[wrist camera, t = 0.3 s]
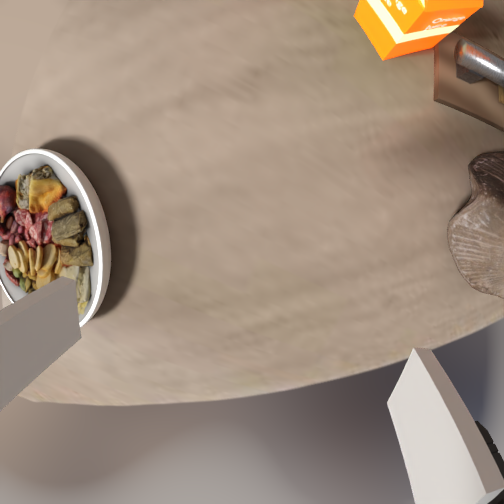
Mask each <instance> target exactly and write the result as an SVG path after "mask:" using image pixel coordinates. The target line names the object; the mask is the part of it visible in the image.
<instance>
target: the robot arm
mask: <svg viewBox="0 0 504 504" xmlns="http://www.w3.org/2000/svg"><path fill="white" fill-rule="evenodd" d="M80 339H81V331H80V323H79V315H78V306H77V295H76V282H75V280H73V279H70V278H67V277H64V276H61V277H60V278H58V279H56V280H54V281H52V282H50V283H48V284H46V285H45V286H43V287H41V288H39V289H37V290H35V291H34V292H32V293H30V294H28V295H26V296H25V297H23V298H21V299H19V300H18V301H16V302H14V303H12V304H11V305H9V306H7V307H5V308H4V309H2V310H0V411H1V410H2V409H3V408H4V407H5V406H6V405H7V404H8V403H9V402H11V401H12V400H13V399H14V398H15V397H16V396H17V395H18V394H19V393H20V392H21V391H22V390H23V389H24V388H26V387H27V386H28V385H29V384H30V383H31V382H32V381H33V380H34V379H35V378H37V377H38V376H39V375H40V374H41V373H42V372H43V371H44V370H45V369H47V368H48V367H49V366H50V365H51V364H52V363H53V362H54V361H55V360H57V359H58V358H59V357H60V356H61V355H62V354H63V353H65V352H66V351H67V350H68V349H69V348H70V347H71V346H73V345H74V344H75V343H76V342H77V341H78V340H80ZM387 404H388V408H389V411H390V414H391V417H392V420H393V423H394V427H395V430H396V433H397V437H398V440H399V443H400V447H401V450H402V454H403V457H404V461H405V465H406V468H407V472H408V476H409V480H410V484H411V488H412V492H413V496H414V500H415V504H504V461H503V459H502V457H501V455H500V453H498V449H497V447H496V445H495V444H493V440H492V438H491V436H490V434H489V433H488V431H487V430H486V429H485V428H484V427H483V426H482V425H481V424H480V423H479V422H478V421H474V420H473V418H472V416H471V415H470V413H469V411H468V409H467V408H466V406H465V404H464V403H463V401H462V399H461V397H460V396H459V394H458V392H457V391H456V389H455V387H454V386H453V384H452V382H451V381H450V379H449V378H448V376H447V374H446V373H445V371H444V370H443V368H442V367H441V365H440V363H439V362H438V360H437V359H436V357H435V356H434V354H433V353H432V351H431V350H430V349H425V348H413V350H412V352H411V354H410V357H409V359H408V361H407V363H406V366H405V368H404V370H403V372H402V374H401V376H400V378H399V381H398V383H397V384H396V386H395V388H394V391H393V392H392V394H391V396H390V398H389V400H388V402H387Z"/></svg>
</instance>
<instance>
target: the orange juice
mask: <svg viewBox="0 0 504 504" xmlns="http://www.w3.org/2000/svg"><path fill="white" fill-rule="evenodd" d="M480 7H483V0H360V1H359V4H358V6H357V9H356V12H355V14H354V17H355V18H356V20H357V21H358V22H359V24H360V25H361V27H362V28H363V30H364V31H365V33H366V34H367V36H368V37H369V39H370V40H371V42H372V44H373V45H374V47H375V48H376V50H377V52H378V53H379V55H380V57H381V58H382V60H386V59H390V58H393V57H397V56H400V55H404V54H408V53H412V52H416V51H420V50H424V49H429V48H432V47H433V46H435V45H436V44H437V43H438V42H439V41H441V40H442V39H443V38H444V37H445V36H446V35H448V34H449V33H451V32H452V31H453V30H454V29H456V28H457V27H458V26H459V25H460V24H461V23H462V22H463V21H465V20H466V19H467V18H468V17H469V16H471V15H472V14H473V13H474V12H476V11H477V10H478V9H479V8H480Z"/></svg>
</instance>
